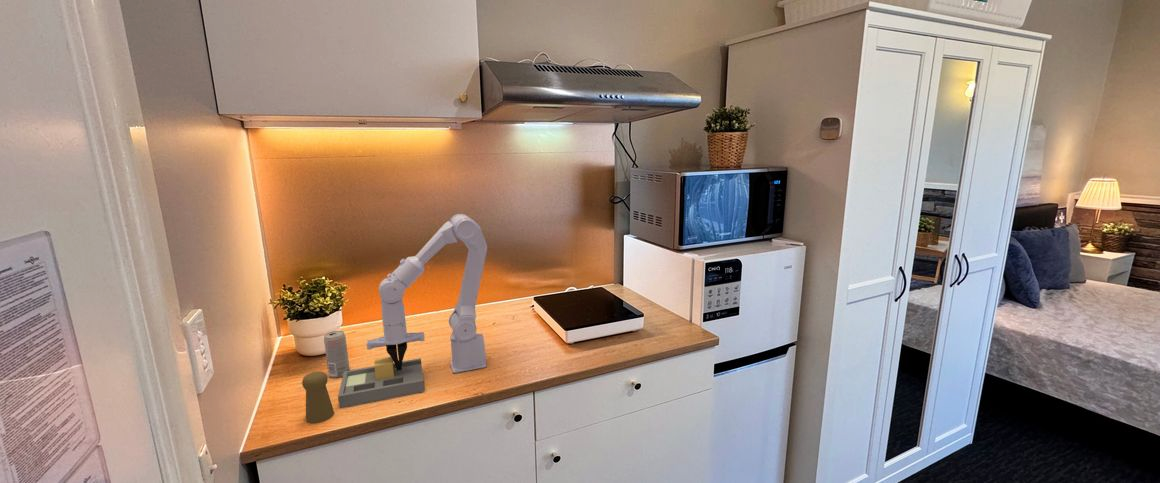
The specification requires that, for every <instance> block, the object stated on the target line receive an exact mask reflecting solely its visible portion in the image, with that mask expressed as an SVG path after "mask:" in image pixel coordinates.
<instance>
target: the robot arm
mask: <svg viewBox="0 0 1160 483" xmlns="http://www.w3.org/2000/svg"><path fill="white" fill-rule="evenodd" d="M482 231H483V230H482V228H481V226H480V225H479V224H478V223H477V222H476V221H475V220H474V219H473V218H470V217H469V216H468V215H467V214H464V213H457V214H454V215H453V216H451V218H450V219H449V220H448V221H446V222H444V224H443V225H442V226H441V227H440V228H439V229H438V230H437V231H436V233H434V235H433V236H432V237H431V238H430V239H429V240H428V242H426V244H425V245H424V246H423V247H422V248H421V249H420V250H419V251H418V252H417V254H415V255H414V256H407V257H406V258H402V259H400V261H399V265H398V267H397V268H395V269H394V270H393V272H391V273H390V272H389V273H388V274H387V275H386V277H387V278H384V279H382V280H381V281H380V284H379V285H378V293H379V298H380V299H381V300H380V305H381V309H380V311H381V317H382V318H381V320H382V327H383V328H382V329H383V336H380V337H377V338H373V339H369V340H366V349H367V351H368V350H369V351H370V350H372V349H376V348H382V347H386V352H387V354H388V355H389V357H391V358H392V360H393V363H394V364H395V366H396V369H397V370H402V362H403V361H404V358H405V354H406V351H407V348H408V343H413V342H426V341H425V340H426V339H425V331H420V332H407V321H406V311H405V304H404V303H403V297H404V295H405V290H407V289H409V287H410V286H412V284H414V282H416V280H417V279H418V278H420V276H421V275H422V274H423V273H424V272H425V265H426V264H427V263H428V261H430V259H432V258H433V257H435V255H436V254H437V253H438V252H439V251H440V250H441V249H442V248H443V247H444V246H445V245H449V244H454V243H455V244H456V243H458V240H460V241H461V242H463V244H464V245H465V246H466V248H467V249H468V250H467V254H466V256H467V257H466V261H465V266H464V270H463V276H462V281H461V285H460V290H459V294H458V295H459V296H458V300H457V303H456V304H455V305H454V308H453V309H454V310H453V312H452V313H451V314H450V315H449V318H448V324H449V326H450V328H451V329H452V332H451V334H450V348H451V349H450V350H451V359H450V360H449V362H450V367H451V372H452V374H456V373H462V372H467V371H472V370H473V371H474V370H479V369H483V368H487V362H486V361H487V360H486V359H487V358H486V356H487V355H486V344H485V339H484V335H483V333H477V329H478V328H477V324H476V319H477V312H476V305H477V299H478V294H479V292H480V291H479V290H480V285H481V280H482V276H483V271H484V267H485V266H484V265H485V262H486V257H487V251H488V244H487V242H486V239H485V236H484V234H483V232H482ZM457 239H458V240H457Z"/></svg>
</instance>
